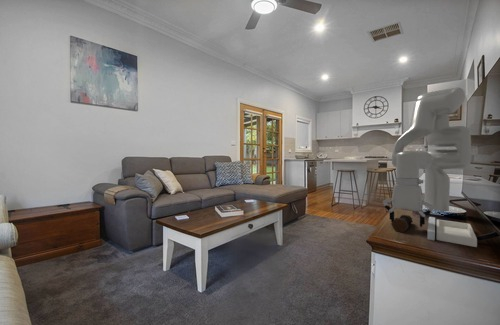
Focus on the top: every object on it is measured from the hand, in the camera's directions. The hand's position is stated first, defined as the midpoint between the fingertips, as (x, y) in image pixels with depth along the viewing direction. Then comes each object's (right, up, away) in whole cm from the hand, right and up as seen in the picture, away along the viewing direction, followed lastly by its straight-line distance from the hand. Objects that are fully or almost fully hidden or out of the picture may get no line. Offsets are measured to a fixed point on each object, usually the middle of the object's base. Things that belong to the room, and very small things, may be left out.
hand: (406, 223), depth 92 cm
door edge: (+6, -2, -5) cm, 8 cm away
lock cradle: (+11, -2, -9) cm, 15 cm away
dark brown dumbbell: (-1, -2, +1) cm, 2 cm away
